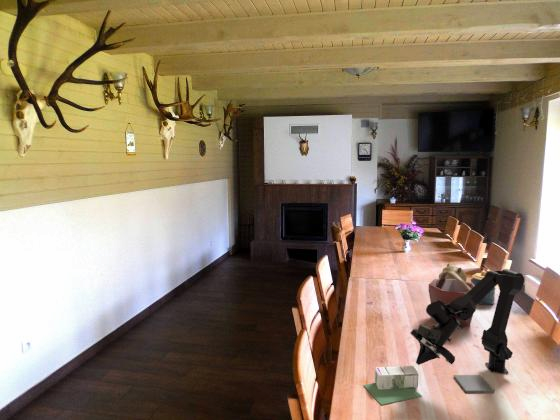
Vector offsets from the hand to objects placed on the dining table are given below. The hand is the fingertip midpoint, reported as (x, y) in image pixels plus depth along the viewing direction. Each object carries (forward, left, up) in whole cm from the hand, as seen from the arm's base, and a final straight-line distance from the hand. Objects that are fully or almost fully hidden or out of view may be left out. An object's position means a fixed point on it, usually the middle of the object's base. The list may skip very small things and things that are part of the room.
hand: (417, 363), depth 143 cm
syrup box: (-1, 0, -5) cm, 5 cm away
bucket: (-62, +26, -9) cm, 68 cm away
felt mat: (+5, -9, -9) cm, 13 cm away
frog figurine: (-128, +41, -9) cm, 135 cm away
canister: (-94, +50, -9) cm, 107 cm away
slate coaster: (-4, +21, -9) cm, 23 cm away
